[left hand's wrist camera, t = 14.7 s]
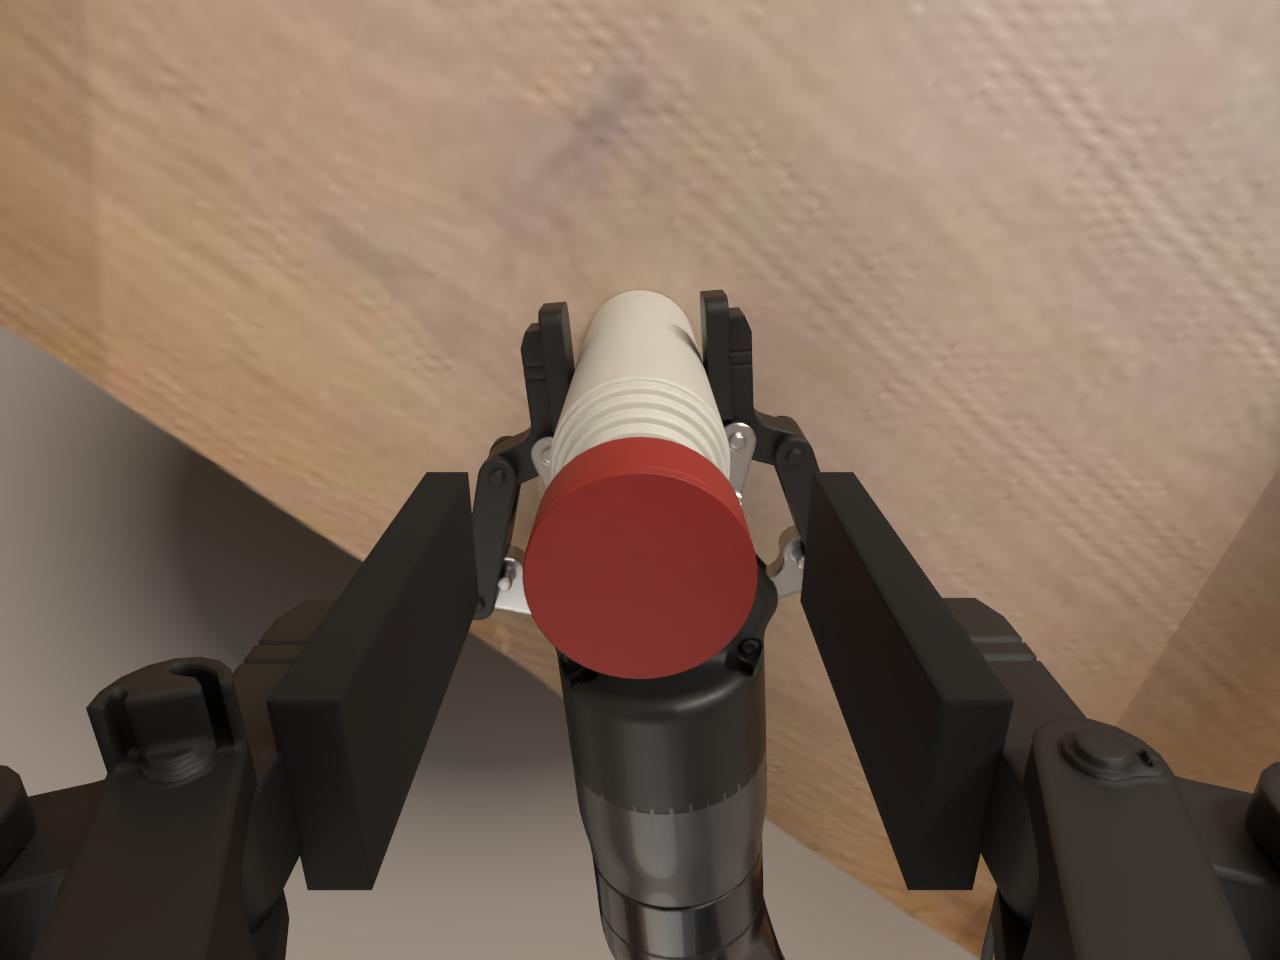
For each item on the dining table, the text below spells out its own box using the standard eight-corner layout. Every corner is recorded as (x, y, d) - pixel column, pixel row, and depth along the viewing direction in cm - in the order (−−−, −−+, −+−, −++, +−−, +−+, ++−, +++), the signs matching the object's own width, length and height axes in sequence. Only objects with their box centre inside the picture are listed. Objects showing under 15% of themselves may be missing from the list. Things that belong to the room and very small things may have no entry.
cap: (532, 433, 14) (517, 470, 12) (751, 437, 14) (767, 474, 12) (539, 622, 15) (526, 678, 14) (737, 625, 15) (750, 681, 14)
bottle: (707, 307, 30) (797, 489, 13) (675, 407, 32) (718, 691, 14) (602, 276, 30) (549, 423, 12) (575, 380, 31) (495, 638, 14)
